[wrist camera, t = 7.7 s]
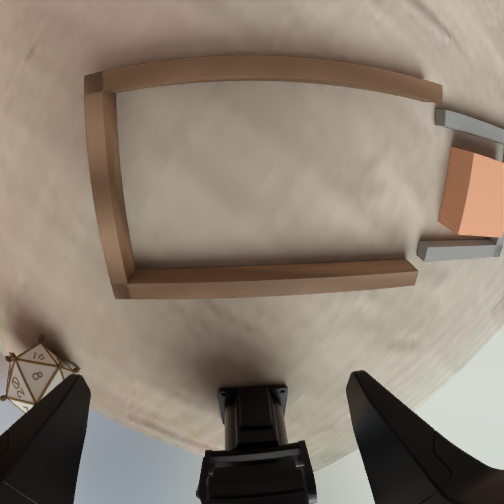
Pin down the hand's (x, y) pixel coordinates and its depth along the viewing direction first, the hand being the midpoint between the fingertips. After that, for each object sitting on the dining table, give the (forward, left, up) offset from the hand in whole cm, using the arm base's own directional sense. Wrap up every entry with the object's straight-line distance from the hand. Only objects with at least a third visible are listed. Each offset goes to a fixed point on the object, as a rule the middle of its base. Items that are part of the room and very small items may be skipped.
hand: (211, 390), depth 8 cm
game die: (-12, +18, -12) cm, 25 cm away
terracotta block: (+4, -20, -12) cm, 24 cm away
